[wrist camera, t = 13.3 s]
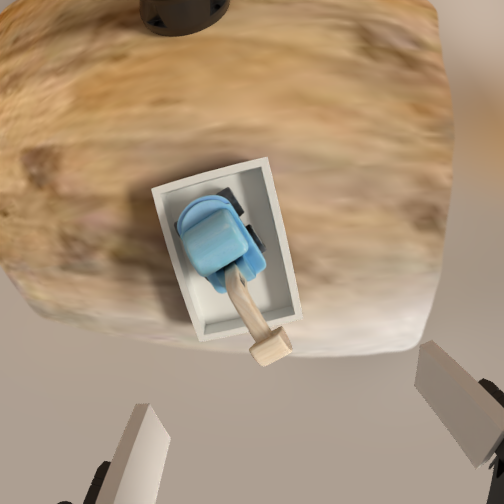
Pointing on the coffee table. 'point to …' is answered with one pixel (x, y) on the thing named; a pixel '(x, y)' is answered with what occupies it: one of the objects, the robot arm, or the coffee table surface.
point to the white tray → (255, 213)
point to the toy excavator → (230, 264)
